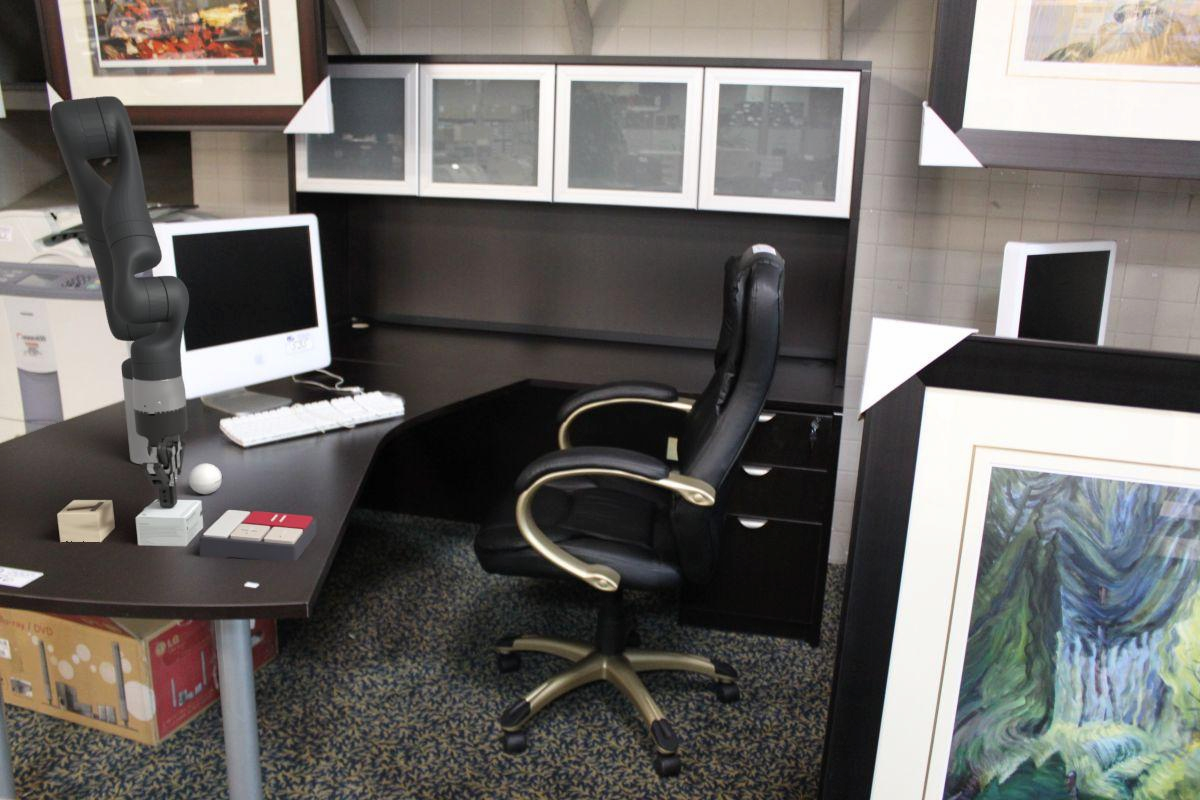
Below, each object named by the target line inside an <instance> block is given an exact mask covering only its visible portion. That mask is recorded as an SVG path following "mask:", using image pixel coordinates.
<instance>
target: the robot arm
mask: <svg viewBox="0 0 1200 800" xmlns="http://www.w3.org/2000/svg"><path fill="white" fill-rule="evenodd" d="M50 121H51V125H52V126H51V127H52V129H53V134H54V136H55V138H56V139H55V140H56V143H57V146H58V149H59V151H60V153H61V157H62V159H63V162H64V165H65V168H66V170H67V173H68V175H69V179H70V181H71V184H72V187H73V191H74V194H75V198H76V201H77V205H78V210H79V213H80V219H81V222H82V227H83V231H84V234H85V238H86V241H87V243H88V247H89V251H90V254H91V257H92V259H93V262H94V266H95V268H96V269H95V270H96V272H97V276H98V279H99V282H100V283H99V284H100V287H101V293H102V294H101V295H102V298H103V304H104V309H105V310H104V311H105V314H106V315H105V316H106V320H107V324H108V327H109V330H110V333H111V335H112V336H113V337H114V338H115V339H116V340H118V341H123V342H132V343H131V345H130V357H129V358H126V359H125V360H123V362H122V363H121V366H120V367H121V377H122V389H123V399H124V408H125V420H126V428H127V439H128V450H129V458H130V462H132V463H134V464H137V465H141V470H142V471H143V474H144V475H145V477H146V479H147V480H148V482H149V484H150V485H151V487H158V495H159V496H158V497H159V498H158V499H160V506H161V507H162V508H173V507H174V506H175V505H176V504H177V500H178V497H177V496H178V494H177V483H178V480H179V477H178V476H180V475H181V473H182V467H183V461H184V455H185V451H186V440H183V439H182V440H180V435H182V434H184V433H185V432H186V431H187V430H188V429H189V424H188V423H189V422H188V421H189V420H188V407H187V396H186V395H187V394H186V387H185V383H184V382H185V381H184V379H183V370H182V369H183V367H182V355H181V349H182V341H183V335H184V333H183V332H184V329H185V328H184V327H185V324H186V321H187V315H188V312H189V305H190V296H189V291H188V290H189V289H188V288H187V286H186V285H185V283H184V282H183V280H182V279H181V278H179V277H177V276H173V275H157V276H141V277H138V276H135V275H138V274H141V273H146V272H148V271H151V270H152V269H155V268H157V266H158V265H160V263H161V261H162V258H163V254H162V249H161V246H160V243H159V240H158V237H157V234H156V231H155V227H154V224H153V221H152V218H151V214H150V211H149V207H148V201H147V196H146V191H145V190H146V189H145V184H144V178H143V177H144V176H143V173H142V166H141V162H140V156H139V152H138V147H137V143H136V138H135V134H134V130H133V126H132V123H131V119H130V116H129V114H128V111H127V109H126V107H125V105H124V103H123V102H122V100H120V98H118V97H116V96H112V95H109V96H107V95H104V96H96V97H93V96H92V97H87V98H85V97H83V98H76V99H66V100H61V101H57V102H55V103H53V105H52V106H51V108H50ZM107 157H117V161H118V163H117V171H116V175H115V179H114V181H113V184H112V185H110V184H109V183H108V182H106V181H105V180H104V178H102V177H101V176H100V175H99V174H98V173H97V172H96V171H95V169H94V168H93V166H91V164H90V163H89V162H88V160H93V159H100V158H107Z"/></svg>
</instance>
